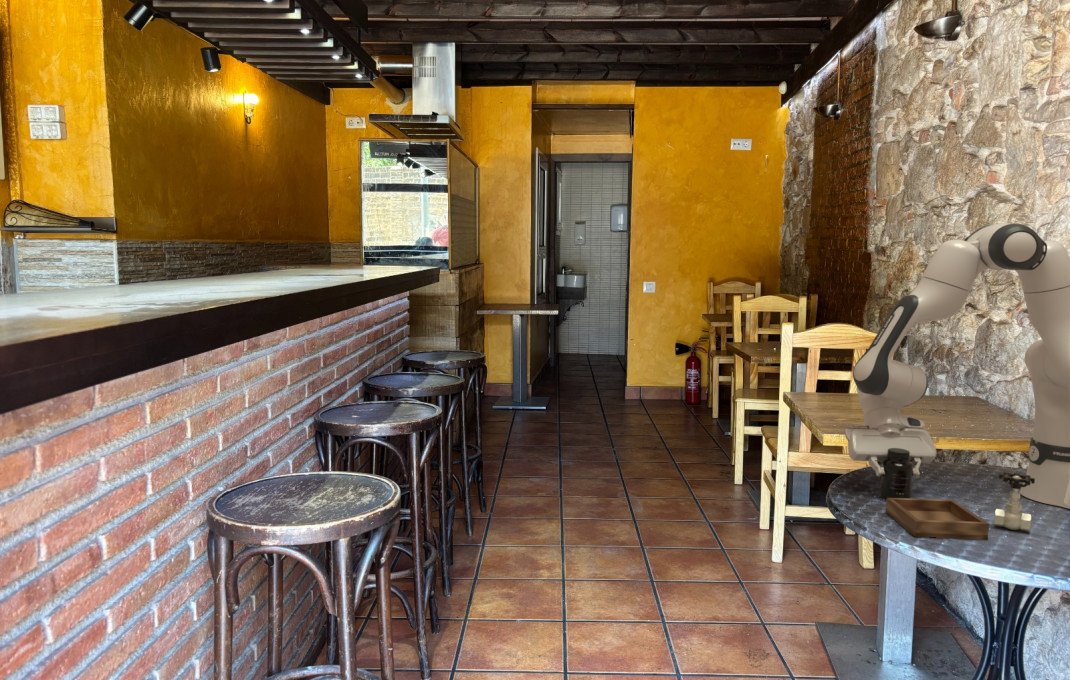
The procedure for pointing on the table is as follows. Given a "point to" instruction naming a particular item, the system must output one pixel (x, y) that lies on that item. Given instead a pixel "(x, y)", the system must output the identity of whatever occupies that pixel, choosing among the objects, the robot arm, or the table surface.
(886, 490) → the supplement bottle
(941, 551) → the table surface
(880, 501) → the table surface
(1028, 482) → the valve
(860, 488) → the table surface
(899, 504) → the walnut tray
